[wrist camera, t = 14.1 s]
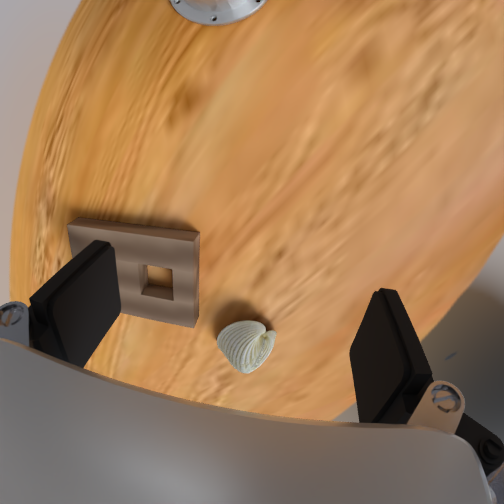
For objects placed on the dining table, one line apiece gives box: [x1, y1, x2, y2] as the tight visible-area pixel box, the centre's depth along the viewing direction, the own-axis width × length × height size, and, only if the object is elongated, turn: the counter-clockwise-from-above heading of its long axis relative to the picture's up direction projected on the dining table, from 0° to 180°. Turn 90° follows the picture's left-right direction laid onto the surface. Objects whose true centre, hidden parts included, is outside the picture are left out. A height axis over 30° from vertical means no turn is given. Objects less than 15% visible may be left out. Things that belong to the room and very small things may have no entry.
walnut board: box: [67, 217, 200, 328], centre depth 43 cm, size 14×20×3 cm
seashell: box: [217, 320, 277, 373], centre depth 45 cm, size 8×8×8 cm
